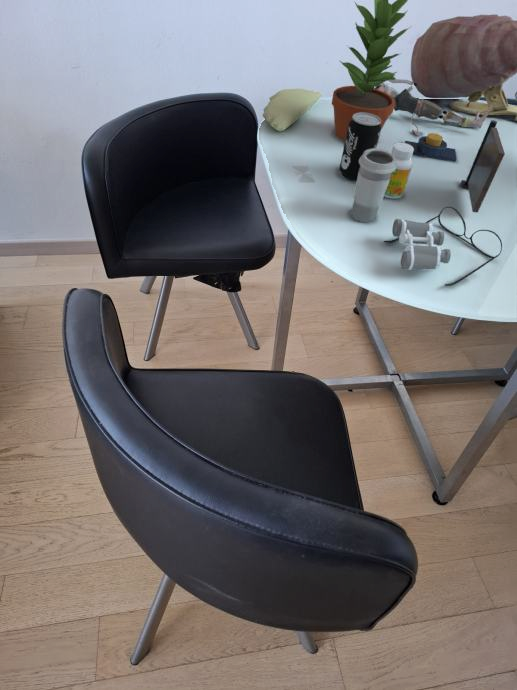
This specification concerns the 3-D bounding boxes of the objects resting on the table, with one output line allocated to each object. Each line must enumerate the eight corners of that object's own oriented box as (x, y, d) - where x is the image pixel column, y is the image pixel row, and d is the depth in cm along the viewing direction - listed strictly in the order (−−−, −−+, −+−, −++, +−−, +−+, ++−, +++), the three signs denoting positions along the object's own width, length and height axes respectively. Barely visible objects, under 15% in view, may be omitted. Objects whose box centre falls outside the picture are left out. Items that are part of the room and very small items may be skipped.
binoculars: (391, 229, 88) (396, 212, 86) (434, 232, 89) (441, 215, 86) (402, 273, 81) (408, 256, 78) (450, 276, 81) (458, 259, 78)
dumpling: (320, 103, 132) (287, 91, 134) (324, 86, 129) (290, 74, 131) (280, 139, 116) (243, 126, 118) (284, 121, 112) (245, 107, 114)
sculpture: (550, -4, 114) (503, 29, 142) (428, 0, 116) (406, 32, 144) (534, 89, 120) (492, 103, 148) (419, 90, 123) (399, 104, 151)
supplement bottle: (375, 195, 100) (388, 149, 93) (378, 183, 104) (391, 138, 97) (401, 201, 99) (416, 155, 92) (403, 189, 103) (418, 144, 96)
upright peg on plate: (471, 185, 107) (499, 120, 97) (472, 190, 105) (501, 124, 95) (460, 183, 107) (487, 118, 97) (461, 188, 105) (488, 122, 95)
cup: (348, 202, 97) (363, 144, 88) (381, 210, 96) (399, 151, 88) (343, 221, 92) (358, 161, 84) (378, 229, 92) (396, 169, 83)
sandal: (529, 134, 128) (544, 101, 122) (446, 107, 137) (457, 75, 131) (542, 122, 136) (557, 90, 130) (463, 97, 145) (474, 67, 139)
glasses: (443, 200, 91) (436, 222, 95) (384, 233, 86) (380, 254, 90) (508, 239, 83) (498, 261, 87) (448, 277, 78) (440, 299, 82)
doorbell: (453, 150, 118) (457, 140, 116) (455, 162, 114) (459, 152, 112) (404, 142, 119) (407, 132, 117) (404, 154, 115) (407, 143, 113)
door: (472, 184, 104) (496, 128, 95) (477, 212, 96) (504, 153, 87) (467, 183, 104) (491, 127, 95) (472, 211, 96) (499, 152, 87)
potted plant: (356, 155, 112) (393, -2, 90) (314, 129, 120) (338, -21, 98) (400, 142, 119) (444, -7, 97) (357, 118, 126) (389, -24, 105)
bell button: (439, 141, 116) (442, 134, 115) (440, 148, 114) (443, 140, 112) (424, 139, 116) (427, 131, 115) (425, 145, 114) (427, 138, 113)
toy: (495, 82, 122) (376, 66, 124) (489, 140, 119) (367, 123, 121) (480, 105, 131) (369, 90, 133) (474, 160, 128) (360, 144, 130)
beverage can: (364, 185, 103) (379, 128, 94) (335, 177, 104) (346, 120, 95) (371, 172, 107) (386, 116, 98) (342, 164, 108) (354, 108, 100)
